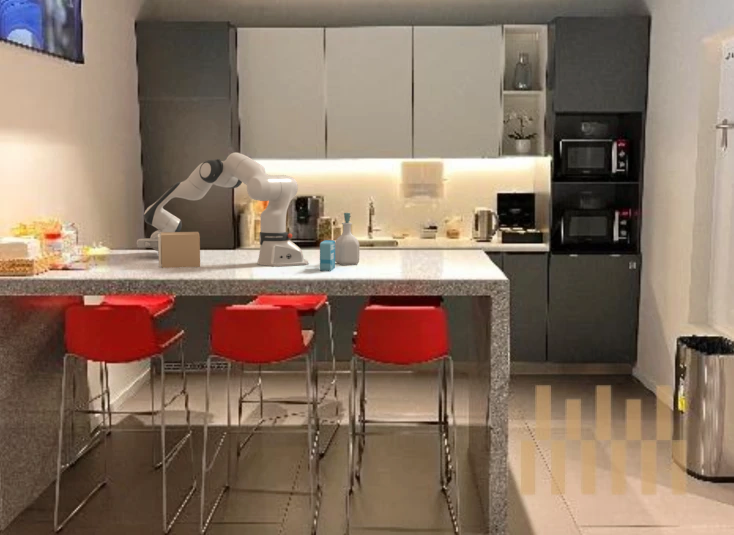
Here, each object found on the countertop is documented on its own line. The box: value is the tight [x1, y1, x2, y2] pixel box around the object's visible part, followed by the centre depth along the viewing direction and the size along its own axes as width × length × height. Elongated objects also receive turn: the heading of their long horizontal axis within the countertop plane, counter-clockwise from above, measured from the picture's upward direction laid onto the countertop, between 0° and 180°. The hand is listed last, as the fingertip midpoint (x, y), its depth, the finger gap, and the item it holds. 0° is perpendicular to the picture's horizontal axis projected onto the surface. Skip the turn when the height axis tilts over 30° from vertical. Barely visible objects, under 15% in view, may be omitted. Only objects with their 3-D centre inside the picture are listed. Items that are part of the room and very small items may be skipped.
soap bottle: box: [335, 212, 360, 266], centre depth 361 cm, size 10×10×23 cm
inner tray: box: [157, 234, 162, 268], centre depth 354 cm, size 16×17×13 cm
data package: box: [319, 239, 336, 272], centre depth 344 cm, size 12×4×12 cm, turn 173°
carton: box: [161, 231, 201, 269], centre depth 352 cm, size 16×12×14 cm
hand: (159, 244), depth 370 cm, fingers open, 8 cm apart
